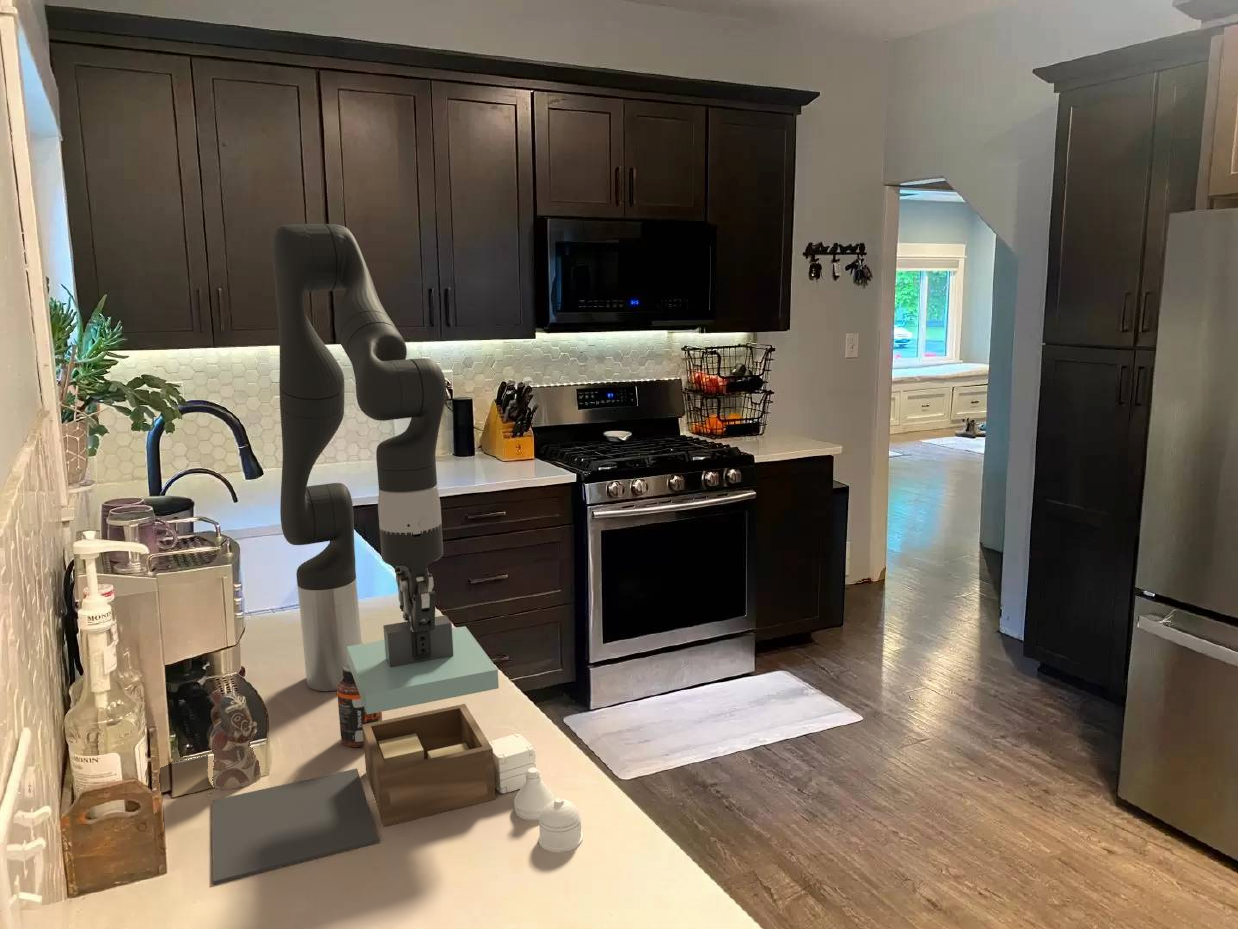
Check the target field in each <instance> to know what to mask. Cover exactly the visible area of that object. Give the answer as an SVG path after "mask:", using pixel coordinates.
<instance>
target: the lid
mask: <svg viewBox="0 0 1238 929" xmlns="http://www.w3.org/2000/svg"><path fill="white" fill-rule="evenodd" d="M421 621H426V620H425V619H420V620H419V622H421ZM383 637H384V638H383V639H382V640H376V641H371V642H365V643H362V644H358V645H352V646H347V653H348V664H349V667H350V670H351V672H352V675H353V678H354V681H355V683H356V686H357V689H358V691H359V694H360V697H361V700H362V702H363V705H364V708H365V710H366V713H367V715H368V714H373V713H378V712H386V711H392V710H398V709H401V708H402V709H403V708H407V707H413V706H418V705H422V704H428V703H432V702H437V701H442V700H447V699H452V698H457V697H462V696H467V695H474V694H477V693H478V694H479V693H482V692H488V691H492V690H493V691H494V690H497V689H499V671H498V668H497V667H496V665H495V664H494V662H493V661H492V660H491V658H490V657H489V656H488V654H487V653H486V652H485V650H484V649H483V647H482V646H481V645H480V643H479V642H478V641H477V639H476V638H475V637H474V636H473V634H472V633H471V632H470V630H469V629H468V628H467V626H465V625H464V626H458V627H453V626H452V621H451V620H450V619H449V617H448V616H447V615H446V614H445V615H437V616H435V628H434V630H430V640H431V657H430V658H428V659H422V660H415V659H414V657H413V651H412V636H411V630H410V621H402V622H396V623H390V624H384V625H383Z"/></svg>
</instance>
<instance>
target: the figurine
mask: <svg viewBox="0 0 1238 929" xmlns="http://www.w3.org/2000/svg"><path fill="white" fill-rule="evenodd" d="M211 697H212V699H213V702H214V706H213V707H212V709H210V718H211V721H212V725H213V729H212V731H211V733H210V736H209V738H210V739H208V746H209V747H210V749H211V750H212V752H213V754H214V760H213V762H214V766H213V767H214V768H213V777H212V778H213V779H212V781H213V786H214V787H215V788H214V787H213V786H212V787H213V788H214V789H216V788H217V789H216V790H222V791H223V790H231V789H237V788H245V787H248V786H250V785H252V784H253V783H257V782H258V781H260V779H261V778H262V776H261V773H260V766H259V761H258V760H257V758H256V755H255V754H254V751H253V748H251V747H250V746H251V745H250V741H252V740H253V737H254V735H255V734H256V732H257V731H258V728H257V725H258V723H257V721H253V720H252V716H251V712H250V710H249V707H248V705H247V698H246V697H245V696H244V695H241V693H238V692H236V691H230V692H227V693H225V694H224V695H223V694H222V692H221V691H220V690H219V689H216V690H214V691H213V692H212V693H211Z"/></svg>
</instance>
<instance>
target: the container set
mask: <svg viewBox="0 0 1238 929" xmlns="http://www.w3.org/2000/svg"><path fill="white" fill-rule="evenodd" d="M488 742H489V743H490V745H491V747H492V748H493V763H494V781H495V790H496V791H498V793H499V794H507V793H511V792H513V791H516V790H519V791H518V792H517V794H516V796H515V797H514V801H513V802H514V813H515V815H516V816H517V817H518V818H521V819H522V820H527V821H536V820H537V821H538V827H539V828H538V829H539V835H538V844H539V845H540V847H541V848H542V849H544V850H545V851H548V852H551V853H565V852H569V851H573V850H574V849H575V850H576V849H577V848H578V847H579V846H580V845H581V844H582V843H583V841H584V834H583V831H582V816H581V813H580V811H579V808H578V807H577V805H575V804H574V803H573V802H572V801H570V800H567V799H564V798H562V797H556V798H555V794H553V792H552V791H551V790H550V788H549V787H548V786H547V785H546V783H545V782H544V781H543V780H542V779H541V778H542V777H541V770H540V769H538V768H537V766H536V764H537V763H536V750H535V747H534V746H533V745H532V744H531V743H530V741H528V740H527V739H526V738H525V737H524V736H523V735H522V733H515V734H510V735H507V736H504V737H500V738H496V739H493V740H488Z"/></svg>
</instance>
